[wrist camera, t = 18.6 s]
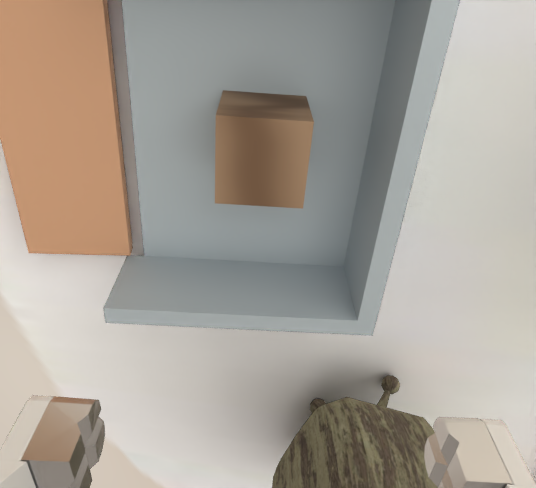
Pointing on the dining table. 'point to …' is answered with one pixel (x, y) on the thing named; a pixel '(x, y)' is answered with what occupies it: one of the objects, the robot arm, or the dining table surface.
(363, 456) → the tabletop clock
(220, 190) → the walnut block
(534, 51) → the dining table surface
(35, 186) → the panel
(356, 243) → the blue-grey open tray
